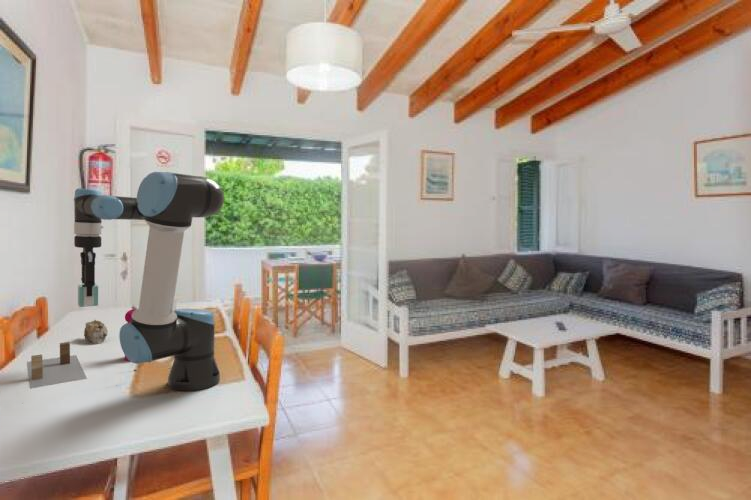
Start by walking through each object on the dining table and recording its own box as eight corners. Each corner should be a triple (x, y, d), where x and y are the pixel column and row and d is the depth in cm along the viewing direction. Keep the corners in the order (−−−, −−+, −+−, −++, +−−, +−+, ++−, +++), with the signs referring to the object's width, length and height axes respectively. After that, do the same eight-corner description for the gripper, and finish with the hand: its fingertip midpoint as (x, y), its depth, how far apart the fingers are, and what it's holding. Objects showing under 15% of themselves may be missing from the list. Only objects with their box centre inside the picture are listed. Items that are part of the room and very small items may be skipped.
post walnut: (70, 363, 148) (69, 343, 148) (60, 365, 147) (60, 344, 146) (69, 361, 150) (69, 341, 150) (60, 363, 149) (59, 343, 148)
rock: (112, 339, 178) (106, 316, 178) (94, 344, 173) (87, 320, 173) (104, 342, 186) (97, 320, 186) (86, 347, 181) (80, 325, 181)
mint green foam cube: (98, 305, 145) (98, 286, 145) (79, 307, 142) (79, 287, 141) (96, 302, 149) (96, 283, 149) (77, 304, 146) (77, 284, 145)
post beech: (42, 378, 134) (42, 356, 134) (31, 380, 132) (31, 357, 132) (42, 376, 136) (41, 354, 136) (31, 377, 134) (31, 355, 134)
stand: (87, 380, 135) (87, 378, 135) (29, 390, 126) (29, 388, 126) (76, 356, 158) (76, 354, 158) (27, 363, 149) (27, 361, 149)
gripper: (105, 237, 139) (104, 308, 141) (97, 233, 153) (97, 298, 155) (77, 237, 134) (76, 310, 136) (71, 233, 148) (71, 300, 150)
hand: (87, 304), depth 145 cm, fingers closed on mint green foam cube, 5 cm apart
